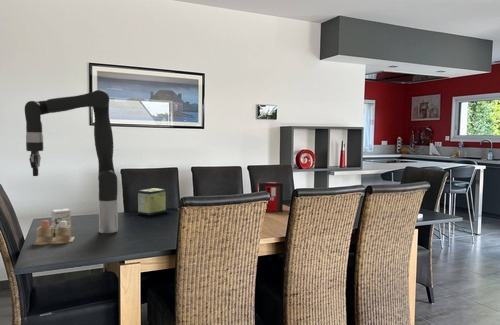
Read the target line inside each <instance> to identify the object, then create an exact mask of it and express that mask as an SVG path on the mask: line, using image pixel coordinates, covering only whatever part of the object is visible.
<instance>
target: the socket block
mask: <svg viewBox="0 0 500 325" xmlns="http://www.w3.org/2000/svg"><path fill="white" fill-rule="evenodd" d="M54 235H55V237H54ZM75 239H76V237H75V236H72V224H71V225H67V228H60V226H57V227H56V228H55V233H53V226H52V225H49V228H48V229H41V226H38V228H37V229H36V240H35V241H34V242H33V243H32V246H39V245H40V246H42V245H54V244H55V245H57V244H73V242H74V240H75Z"/></svg>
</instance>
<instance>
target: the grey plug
mask: <svg viewBox="0 0 500 325" xmlns="http://www.w3.org/2000/svg"><path fill="white" fill-rule="evenodd" d="M59 224H60V228H67V221H60V222H59Z"/></svg>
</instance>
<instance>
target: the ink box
mask: <svg viewBox="0 0 500 325" xmlns="http://www.w3.org/2000/svg"><path fill="white" fill-rule="evenodd" d="M71 214H72V212H71V209H69V208H61V209H60V208H59V209H52V210H51V226H53V234H55V228H56V227H57V226H60V224H59V222H60V221H67V225H71V226H72V220H71V218H72V217H71V216H72V215H71Z"/></svg>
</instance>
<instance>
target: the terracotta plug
mask: <svg viewBox="0 0 500 325" xmlns="http://www.w3.org/2000/svg"><path fill="white" fill-rule="evenodd" d="M49 226H50V222H49V219H48V220H47V219H44V220H41V221H40V227H41V229H48V228H49Z"/></svg>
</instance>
